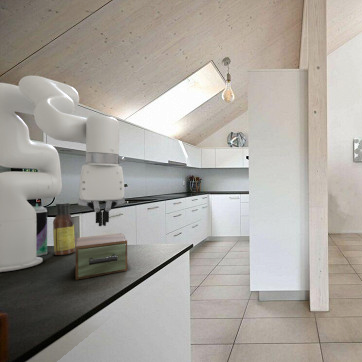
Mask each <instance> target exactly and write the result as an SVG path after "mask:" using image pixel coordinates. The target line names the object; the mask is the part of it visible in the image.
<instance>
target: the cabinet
mask: <svg viewBox="0 0 362 362" xmlns="http://www.w3.org/2000/svg"><path fill="white" fill-rule="evenodd" d="M121 243H122V244H125V269H122V270H117V271H111V272H106V273H100V274H94V275H89V276H83V277H78V249H82V248H90V247H98V246H106V245H114V244H121ZM126 271H128V240H127V238H126V236H125V235H124V233H123V232H119V233H110V234H100V235H92V236H90V235H89V236H80V237H77V238H76V242H75V280H82V279H88V278H92V277H99V276H103V275H109V274H114V273H120V272H126Z"/></svg>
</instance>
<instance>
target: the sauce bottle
mask: <svg viewBox="0 0 362 362" xmlns="http://www.w3.org/2000/svg"><path fill="white" fill-rule="evenodd" d="M70 205H71V204H70V202H58V203H55V208H56V216H55V218H54V219H53V222H52V225H53V228H52V235H53V251H54V255H55V256H65V255H70V254H73V253H75V252H76V235H75V222H74V220H73V217H72V215H71V213H70V207H71V206H70Z"/></svg>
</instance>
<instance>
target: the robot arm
mask: <svg viewBox="0 0 362 362" xmlns="http://www.w3.org/2000/svg"><path fill="white" fill-rule="evenodd" d="M79 103H80V96H79V93H78V91H77V90H76V89H75V88H74V87H73V86H71V85H69V84H67V83H63V82H60V81H57V80H53V79H50V78H47V77H45V76H40V75H25V76H23V77H22V78H21V79H20V80H19V81H18V85H16V84H12V83H7V82H0V166H1V167H4V168H11V169H31V170H35V169H36V170H37V171H17V170H16V171H2V172H0V273H2V272H11V271H17V270H24V269H27V268H31V267H34V266H38V265H40V264H41V263H43V262H44V261H43V260H44V259H43V257H40V256H36V211H35V209H34V208H33V207H32V206H33V205H32V204H30V203H29V200H40V199H42V200H43V199H44V200H45V199H52V198H56V197H58V196H59V195H60V194H61V192H62V189H63V188H62V187H63V181H62V171H61V161H60V154H59V152H58V150H57V149H56V147H55V146H53V145H52V144H48V143H45V142H39V141H37V142H36V141H32V140H31V138H30V130H29V127H28V125H27V124H26V122H25V121H24V120H23V119H22V118H21V117H20V116H19V115H18V114H17V113H21V114H25V115H31V116H33V117H34V122H35V124H36V126H37V127H38V128H39V129H40V130H41V131H42V132H43V133H44V134H45V135H47V137H49V138H51V139H54V140H56V141H61V142H70V143H78V144H79V143H80V144H82V145H83V144H84V145H85V164H82V165H81V170H80V175H79V187H78V189H79V190H78V194H79V195H78V196H79V199H78V202H77V205H78V206H82V207H89V208H90V209H92V210H93V211H94V212H95V224H98V227H102V226H103V227H106V226H107V223H109V222H110V211H111V210H112V209H113V208H115V207H116V206H120V205H123V204H125V203H126V200H125V180H124V172H123V166H121V165H120V164H121V163H125V162H126V157H122V156H120V122H119V121H118V120H117V119H116V118H115V117H112V116H107V115H101V114H100V115H97V114H95V115H94V114H93V115H89V116H88V117H84V116H80V115H75V114H74V112H75V110H76V108H77V107H78V105H79ZM104 201H105V205H104V207H103V211H102V208H100V202H104Z"/></svg>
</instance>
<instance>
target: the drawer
mask: <svg viewBox="0 0 362 362" xmlns="http://www.w3.org/2000/svg"><path fill="white" fill-rule="evenodd" d="M122 269H125V244H122V243H121V244H114V245H106V246H98V247H90V248H82V249H78V277H83V276H89V275H94V274H100V273H106V272H111V271H117V270H122Z"/></svg>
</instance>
